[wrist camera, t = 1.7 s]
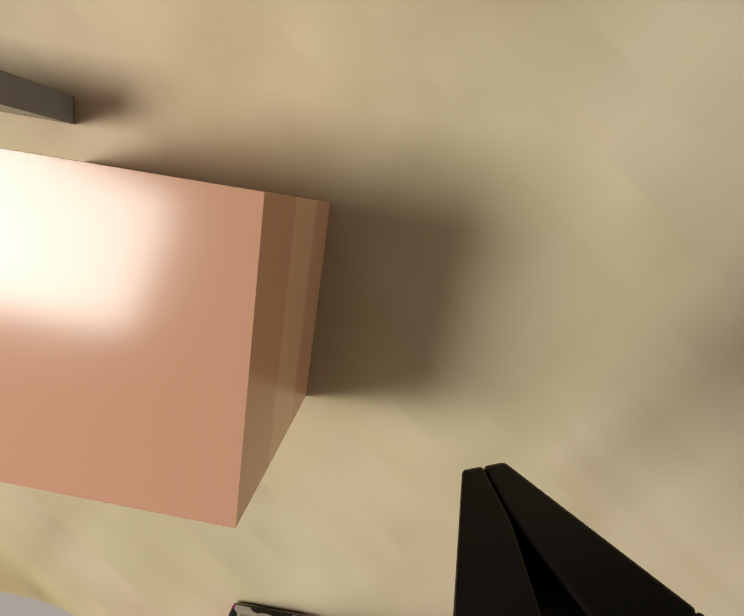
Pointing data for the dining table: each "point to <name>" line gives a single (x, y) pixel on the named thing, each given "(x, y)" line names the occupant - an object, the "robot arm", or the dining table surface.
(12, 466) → the tile stack
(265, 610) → the candy bar box
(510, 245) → the dining table surface
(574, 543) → the robot arm
